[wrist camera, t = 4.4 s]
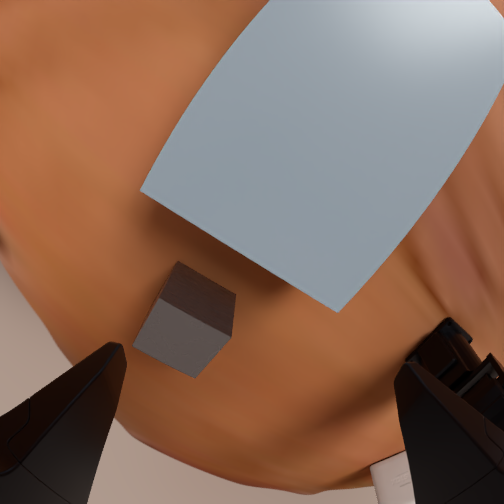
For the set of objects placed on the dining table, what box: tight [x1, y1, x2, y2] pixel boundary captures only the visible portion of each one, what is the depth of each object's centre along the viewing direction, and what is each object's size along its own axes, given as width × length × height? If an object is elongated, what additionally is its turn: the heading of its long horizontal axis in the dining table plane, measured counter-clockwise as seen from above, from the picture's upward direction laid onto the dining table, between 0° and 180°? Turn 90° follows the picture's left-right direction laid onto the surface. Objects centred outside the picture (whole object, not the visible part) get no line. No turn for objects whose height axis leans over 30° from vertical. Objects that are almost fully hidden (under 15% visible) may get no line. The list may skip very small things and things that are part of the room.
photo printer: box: [370, 451, 415, 504], centre depth 31 cm, size 10×4×12 cm, turn 119°
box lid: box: [140, 0, 504, 313], centre depth 11 cm, size 12×22×1 cm, turn 146°
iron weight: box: [132, 261, 236, 378], centre depth 20 cm, size 5×5×5 cm
